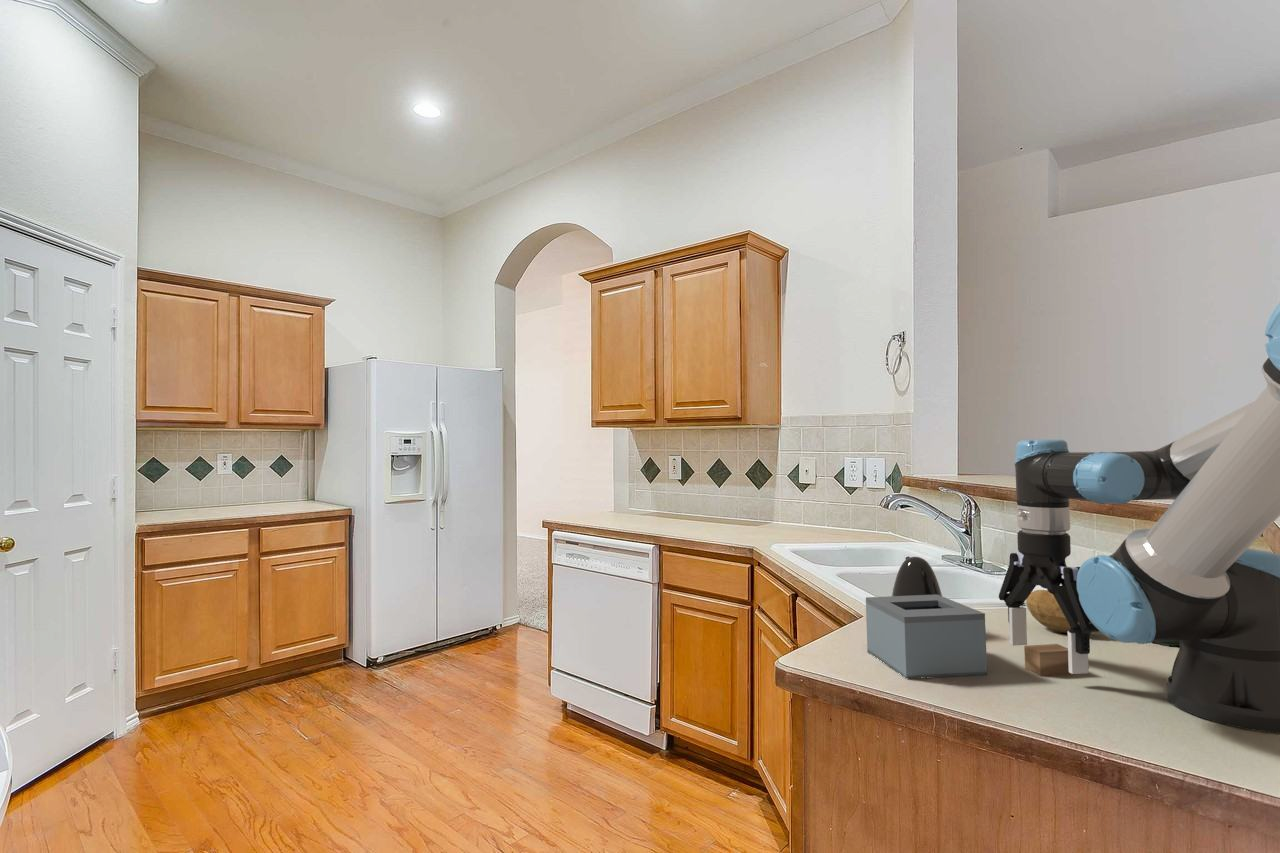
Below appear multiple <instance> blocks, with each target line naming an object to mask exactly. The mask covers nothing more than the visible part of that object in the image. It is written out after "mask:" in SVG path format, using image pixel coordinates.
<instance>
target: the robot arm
mask: <svg viewBox="0 0 1280 853" xmlns="http://www.w3.org/2000/svg"><path fill="white" fill-rule="evenodd" d="M1264 335H1265V337H1268V342H1267V343H1265V344H1264V346H1265V352H1266V354H1267V356H1268V357H1267V359H1266V360H1265V362H1263V364H1262V365H1261V370H1260V371H1261V373H1262V375H1263V377H1264V380H1265V383H1266V387H1265V389H1263V391H1262V392H1261V393H1260V395H1258V397H1257V398H1256V399H1255V400H1254V401H1252V402H1250V403H1248V404H1245V405H1244V406H1242V407H1240V408H1238V409H1236V410H1233V411H1232V412H1230V413H1228V414H1225V415H1224V416H1222V417H1220V418H1218V419H1216V420H1213V421H1212V422H1210V423H1207V424H1206V425H1204V426H1202V427H1200V428H1198V429H1196V430H1194V431H1192V432H1190V433H1188V434H1186V435H1184V436H1182V437H1180V438H1178V439H1176V440H1174V441H1172V442H1170V443H1169V444H1167V445H1164V446H1162V447H1160V448H1157V449H1155V450H1145V451H1144V450H1143V451H1141V450H1140V451H1100V452H1096V451H1095V452H1093V451H1092V452H1090V451H1087V452H1085V451H1084V452H1083V451H1080V452H1079V451H1077V452H1076V451H1075V452H1074V451H1071V452H1070V450H1069V447H1068V442H1067V441H1065V440H1064V439H1022V440H1020V441H1018V442H1017V443H1016V445H1015V460H1014V468H1015V470H1014V471H1015V487H1016V488H1015V492H1016V510H1017V511H1016V515H1017V518H1016V519H1017V523H1016V524H1017V527H1018V528H1019V529H1020V530H1019V531H1018V532H1017V538H1016V539H1017V551H1018V552H1011V553H1010V554H1009V561H1008V562H1009V563H1008V566H1007V570H1006V572H1005V576H1004V579H1003V581H1002V583H1001V588H1000V590H999V593H998V598H999V600H1000V601H1003V602H1004V603H1005V606H1006V607H1007V616H1008V618H1007V620H1008V624H1009V645H1011V646H1014V647H1015V646H1028V639H1027V638H1028V634H1027V633H1028V632H1027V631H1028V629H1027V628H1028V627H1027V626H1028V625H1027V608H1026V607H1024V606H1026V599H1027V598H1028V596H1029V595H1030V594H1031V592H1033V591H1034V590H1035V588H1036V587H1037V586H1040V587H1041V588H1042V589H1044V590H1048V591H1049V592H1050V593H1051V594H1053V595H1054V597H1055V599H1056V601H1057V603H1058V605H1059V606H1060V608H1061V610H1062V612H1063V614H1064V616H1065V617H1066V619H1067V621H1068V623H1069V625H1070V627H1071V629H1070V630H1068V633H1067V648H1068V665H1069V673H1071V674H1070V675H1075V674H1076V675H1078V674H1079V675H1081V674H1089V654H1090V652H1091V643H1090V642H1091V640H1090V635H1091V633H1096V632H1099V633H1102V634H1103V635H1104V636H1106V637H1107V638H1109V639H1111V640H1113V641H1116V642H1118V643H1119V642H1120V643H1125V644H1127V643H1128V644H1129V643H1131V644H1133V643H1134V644H1135V643H1136V644H1138V645H1140V644H1141V645H1144V644H1145V645H1147V644H1152V643H1157V642H1166V641H1179V640H1180V645H1179V648H1178V651H1177V654H1176V656H1175V659H1174V662H1173V666H1172V669H1171V673H1170V674H1171V675H1169V676H1168V678H1167V680H1166V698H1167V700H1168V701H1169V702H1170V703H1171V704H1172V705H1174V706H1175V707H1177V708H1179V709H1180V710H1182V711H1185V712H1187V713H1189V714H1192V715H1194V716H1196V717H1199V718H1202V719H1204V720H1209V721H1211V722H1212V721H1213V722H1216V723H1219V724H1223V725H1226V726H1227V725H1228V726H1232V727H1235V728H1241V729H1246V730H1252V731H1260V732H1266V733H1275V734H1280V554H1278V553H1275V552H1272V551H1266V550H1261V549H1260V550H1259V549H1254V548H1250V547H1251V546H1252V545H1253V544H1254V543H1255V542H1256V541H1257V540H1258V539H1259V538H1260V537H1261V536H1262V534H1264V532H1266V531H1267V530H1268V529H1269V527H1270V526H1272V524H1274V523H1275V522H1276V520H1277V519H1278V518H1279V517H1280V302H1279V303H1278V304H1277V306H1275V308H1274V309H1273V311H1272V313H1271V315H1270V317H1269V319H1268V321H1267V323H1266V327H1265V332H1264ZM1070 500H1078V501H1086V502H1092V503H1096V504H1101V505H1105V504H1106V505H1107V504H1108V505H1109V504H1110V505H1111V504H1112V505H1114V504H1115V505H1118V504H1119V505H1122V504H1127V503H1129V502H1131V501H1149V500H1151V501H1153V500H1155V501H1156V500H1159V501H1160V500H1162V501H1163V500H1173V502H1172V503H1171V504H1170V506H1169V507H1168V508H1167V509H1166V510H1165V511H1164V513H1163V514H1162V515H1161V516H1160V518H1159V519H1158V520H1157V522H1156V523H1155V524H1154V525H1153V527H1152V528H1138V529H1136V530H1133V531H1132V532H1130V533H1129V534H1128V535H1127V537H1125V539H1124V540H1123V541H1122V543H1121V544H1120V545H1119V547H1118V548H1117V549H1116V550H1115V552H1113V553H1112V554H1110V555H1105V554H1104V555H1103V554H1100V555H1096V556H1094V557H1090V558H1088V559H1086V560H1085V561H1084V562H1083V563H1082V564H1081V565H1080V566H1067V562H1066V559H1067V558H1068V557H1069V556H1071V552H1072V551H1071V547H1072V546H1071V535H1070V534H1069V533H1068V532H1069V531H1070V530H1071V514H1070V513H1071V512H1070V510H1071V509H1070ZM1077 622H1079V625H1078V623H1077ZM1089 622H1091V624H1090V623H1089Z"/></svg>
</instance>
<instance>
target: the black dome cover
mask: <svg viewBox="0 0 1280 853" xmlns="http://www.w3.org/2000/svg"><path fill="white" fill-rule="evenodd" d="M904 559H905V560H904V561H903V562H902V564H901V565H900V567H899V569H898V571H897V574H896V577H895V580H894V584H893V588H892V594H891V596H912V595H936V594H937V595H940V596H942V597H943V594H942V591H941V587H940V584H939V581H938V579H937V576H936V573H935V571H934V569H933V567H932V566H931V564H930V563H929V562H928V561H927V560H926V559H924V558H923V557H921V556H911V557H910V556H906V557H905V558H904Z"/></svg>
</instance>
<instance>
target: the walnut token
mask: <svg viewBox="0 0 1280 853" xmlns="http://www.w3.org/2000/svg"><path fill="white" fill-rule="evenodd" d="M1023 646H1024V651H1023V652H1024V669H1025V670H1026V671H1029V672H1030V673H1033V674H1035V675H1037V676H1039V677H1049V676H1065V675H1067V676H1069V675H1072V674H1071V673H1069V665H1068V647H1066V646H1063V645H1060V644H1058V643H1050V644H1049V643H1048V644H1033V645H1023Z"/></svg>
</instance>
